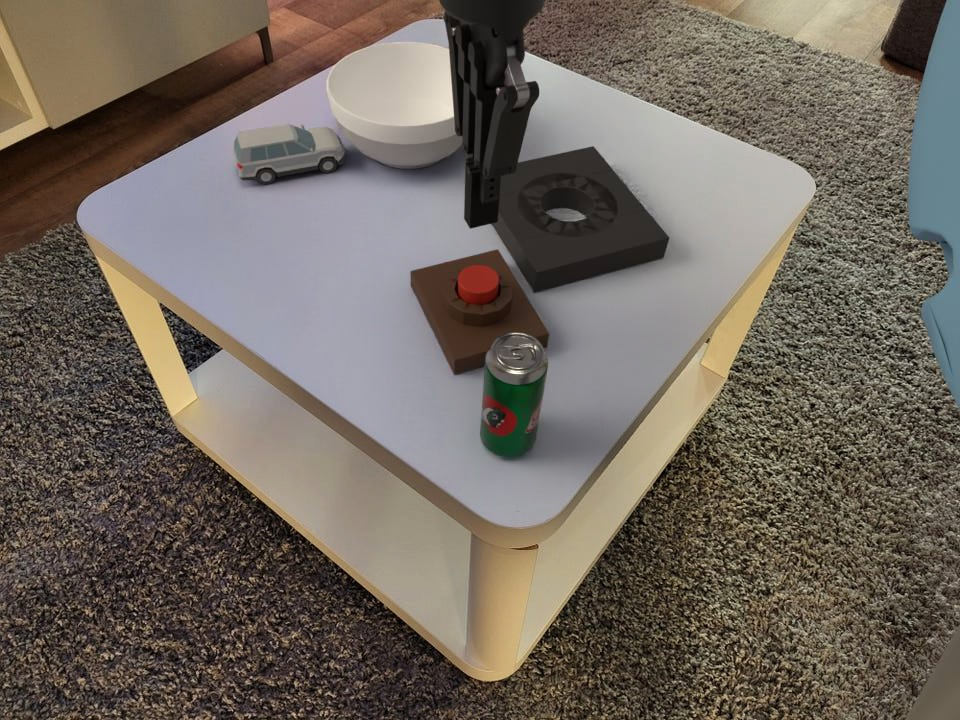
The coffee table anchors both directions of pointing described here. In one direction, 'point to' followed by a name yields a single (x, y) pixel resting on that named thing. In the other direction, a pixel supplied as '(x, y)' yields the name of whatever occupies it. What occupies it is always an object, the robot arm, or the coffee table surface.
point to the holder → (574, 244)
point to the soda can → (512, 394)
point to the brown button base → (473, 310)
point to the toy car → (286, 151)
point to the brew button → (478, 285)
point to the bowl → (396, 103)
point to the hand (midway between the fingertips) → (480, 220)
